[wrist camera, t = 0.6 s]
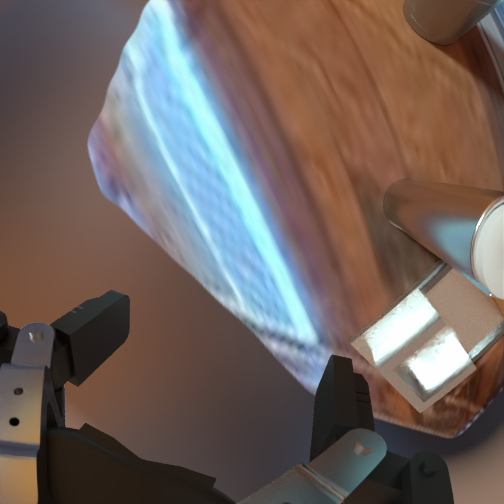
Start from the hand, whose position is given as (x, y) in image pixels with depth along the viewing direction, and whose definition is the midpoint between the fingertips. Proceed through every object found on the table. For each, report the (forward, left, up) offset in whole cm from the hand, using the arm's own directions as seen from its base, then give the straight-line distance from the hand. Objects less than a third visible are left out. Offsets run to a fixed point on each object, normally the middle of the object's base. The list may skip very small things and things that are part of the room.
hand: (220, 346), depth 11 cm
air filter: (-13, +9, -30) cm, 34 cm away
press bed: (-9, +27, -30) cm, 42 cm away
